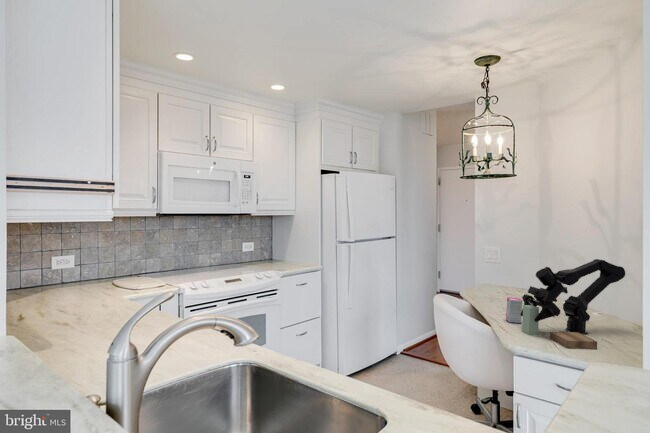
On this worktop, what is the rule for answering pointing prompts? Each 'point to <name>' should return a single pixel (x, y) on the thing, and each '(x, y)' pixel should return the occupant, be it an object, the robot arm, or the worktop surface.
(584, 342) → the walnut base
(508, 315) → the supplement box
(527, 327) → the sage block
